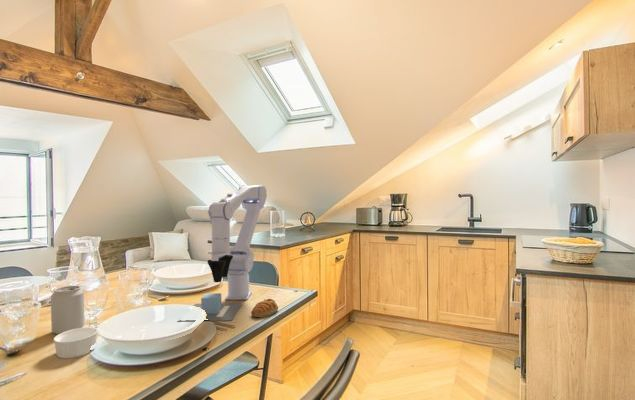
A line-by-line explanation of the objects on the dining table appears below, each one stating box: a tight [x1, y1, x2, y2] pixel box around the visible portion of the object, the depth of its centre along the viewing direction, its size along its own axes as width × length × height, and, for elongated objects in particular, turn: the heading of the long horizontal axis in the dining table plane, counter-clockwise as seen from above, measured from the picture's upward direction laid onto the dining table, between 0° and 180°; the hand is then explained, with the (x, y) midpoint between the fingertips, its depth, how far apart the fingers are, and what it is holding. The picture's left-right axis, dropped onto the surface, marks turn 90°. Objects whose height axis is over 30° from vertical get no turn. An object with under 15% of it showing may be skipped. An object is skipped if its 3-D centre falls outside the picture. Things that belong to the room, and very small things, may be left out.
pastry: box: [251, 298, 279, 318], centre depth 111 cm, size 9×7×4 cm
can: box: [50, 285, 85, 336], centre depth 99 cm, size 8×8×12 cm
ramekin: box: [53, 326, 99, 359], centre depth 86 cm, size 9×9×4 cm
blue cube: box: [200, 292, 222, 314], centre depth 113 cm, size 5×5×5 cm
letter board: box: [192, 302, 243, 322], centre depth 113 cm, size 16×16×1 cm
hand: (220, 279), depth 117 cm, fingers open, 7 cm apart
